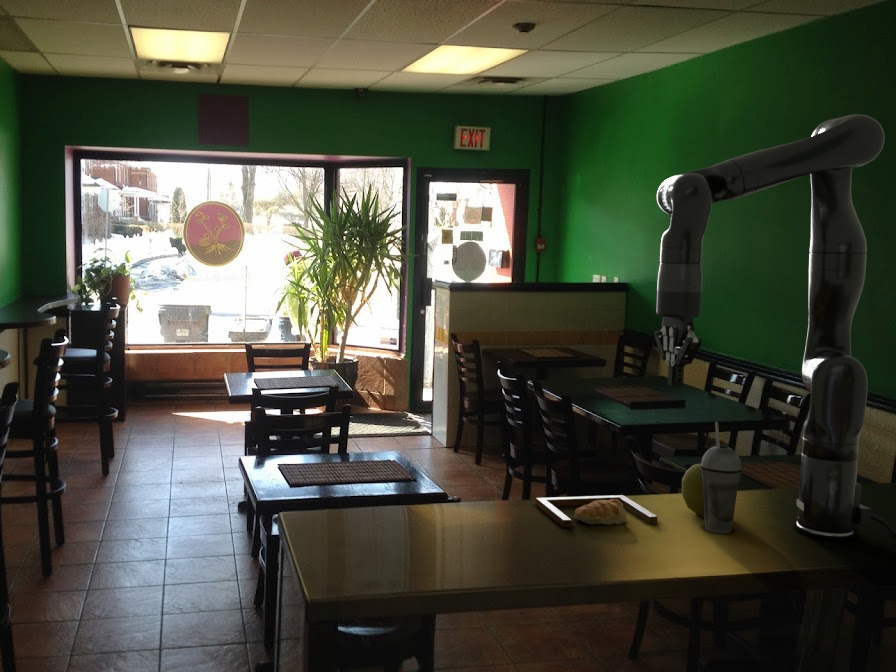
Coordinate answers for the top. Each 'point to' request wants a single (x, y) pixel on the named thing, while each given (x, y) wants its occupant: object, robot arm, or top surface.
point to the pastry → (602, 512)
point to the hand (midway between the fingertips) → (675, 386)
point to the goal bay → (565, 521)
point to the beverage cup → (720, 486)
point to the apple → (693, 489)
